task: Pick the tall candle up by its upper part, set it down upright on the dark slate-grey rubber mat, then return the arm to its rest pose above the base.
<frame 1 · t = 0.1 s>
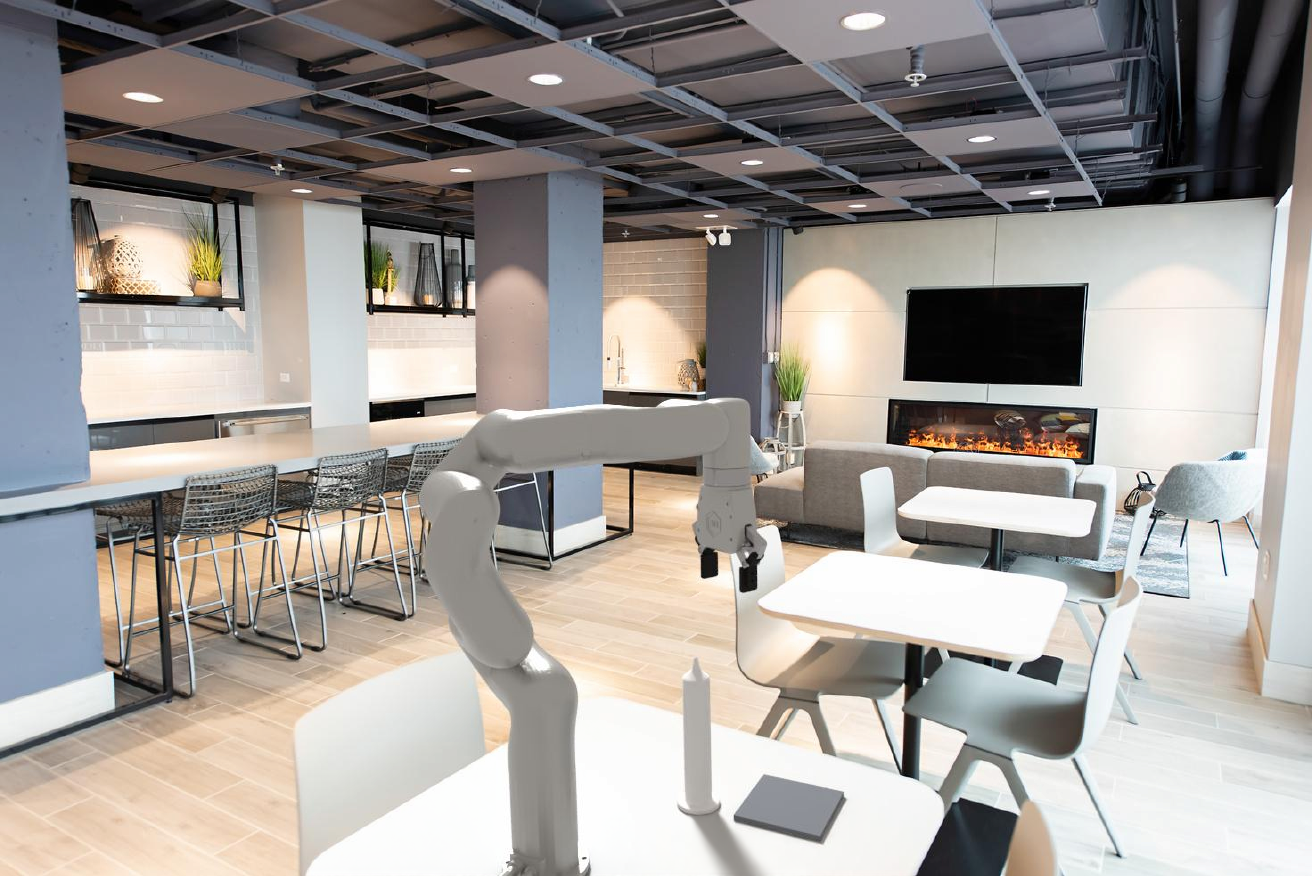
hand: (728, 583, 135), 37 cm above the table, tool pointing down, fingers open, 9 cm apart
mat: (790, 807, 139), on the table
candle: (698, 804, 140), on the table
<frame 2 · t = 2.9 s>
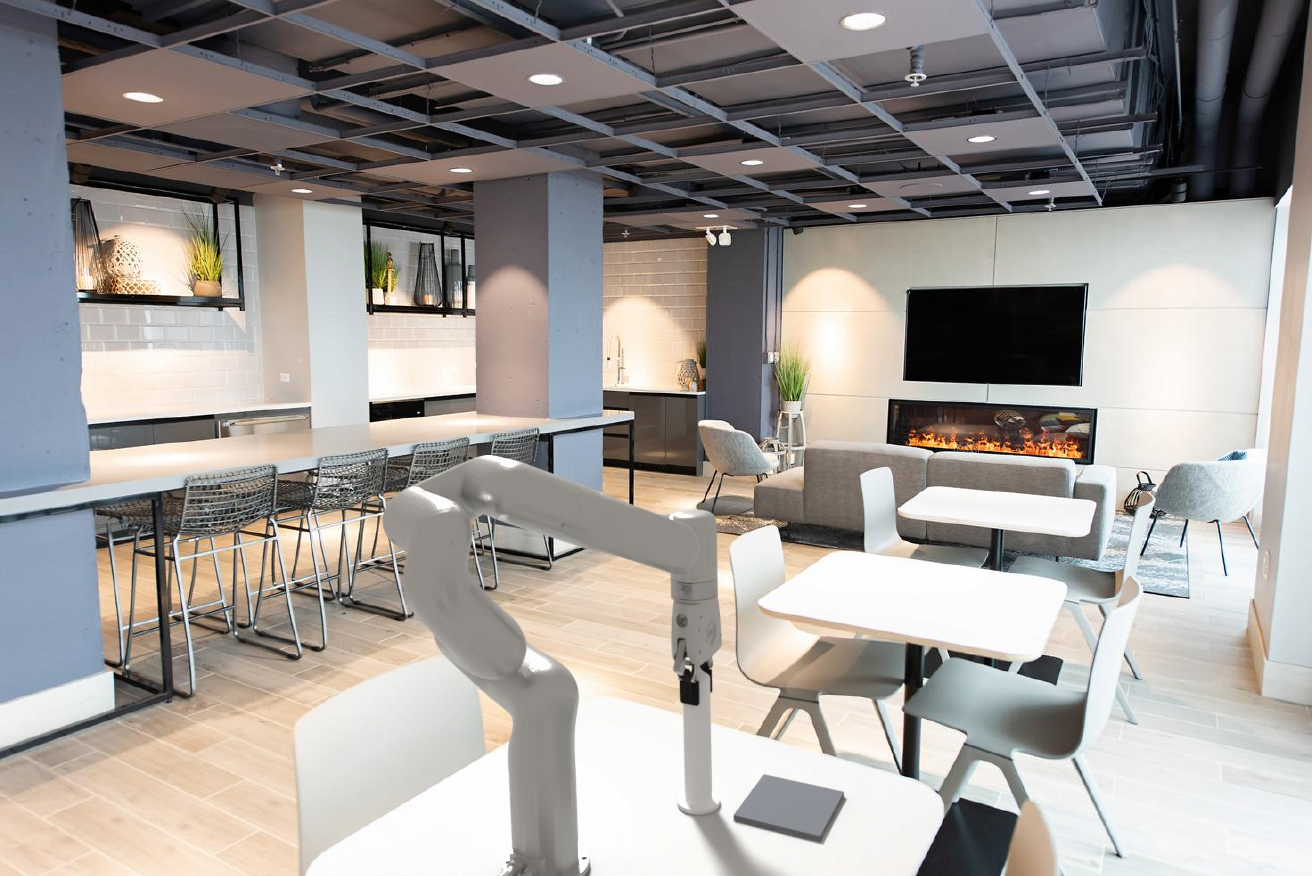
hand: (696, 696, 138), 18 cm above the table, tool pointing down, fingers closed on candle, 4 cm apart
candle: (698, 804, 140), on the table, touching gripper
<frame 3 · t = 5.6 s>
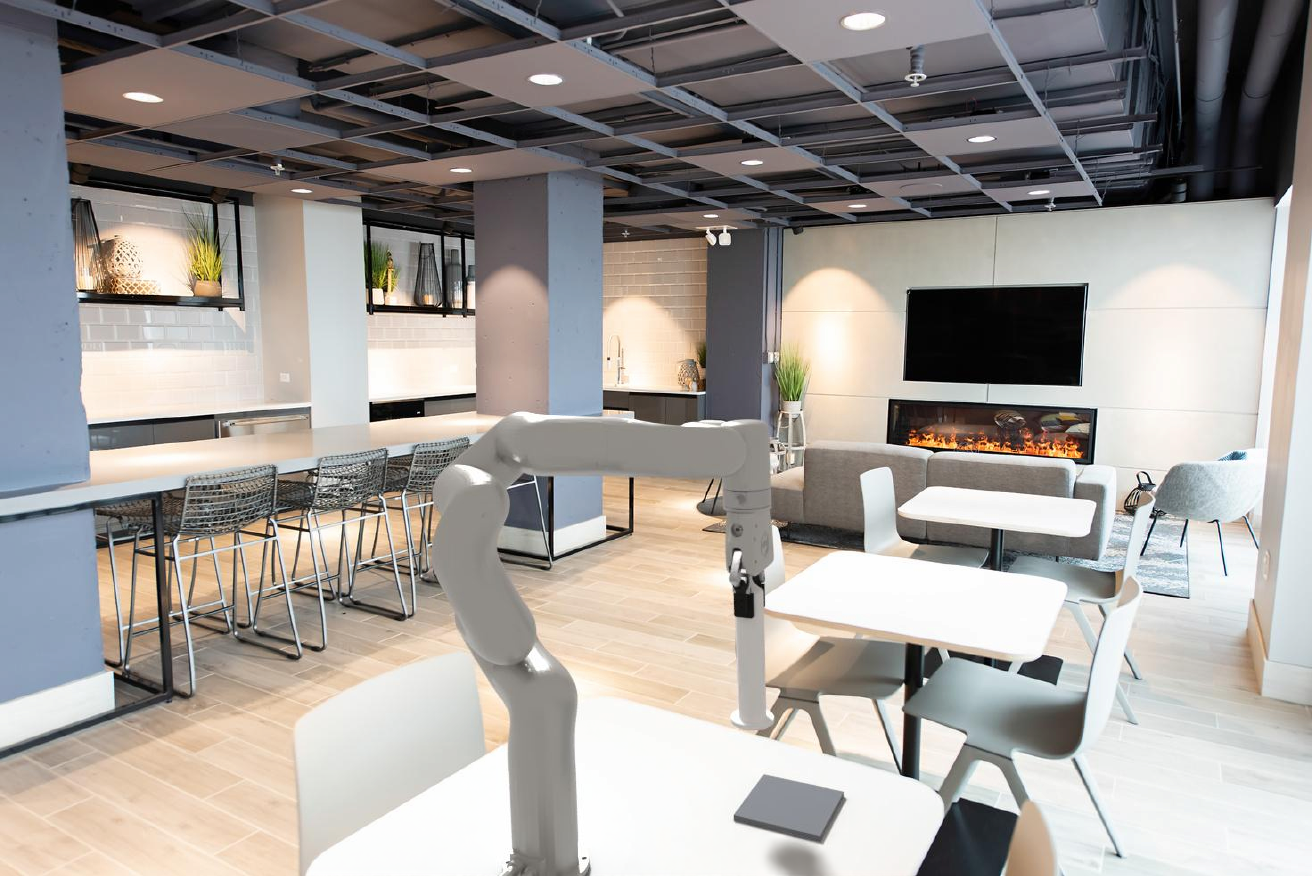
hand: (749, 610, 136), 33 cm above the table, tool pointing down, fingers closed on candle, 4 cm apart
candle: (752, 721, 138), point 14 cm above the table, touching gripper
when the fingers open (20 cm above the table, at t = 8.6 s): candle drops 1 cm, resting on mat.
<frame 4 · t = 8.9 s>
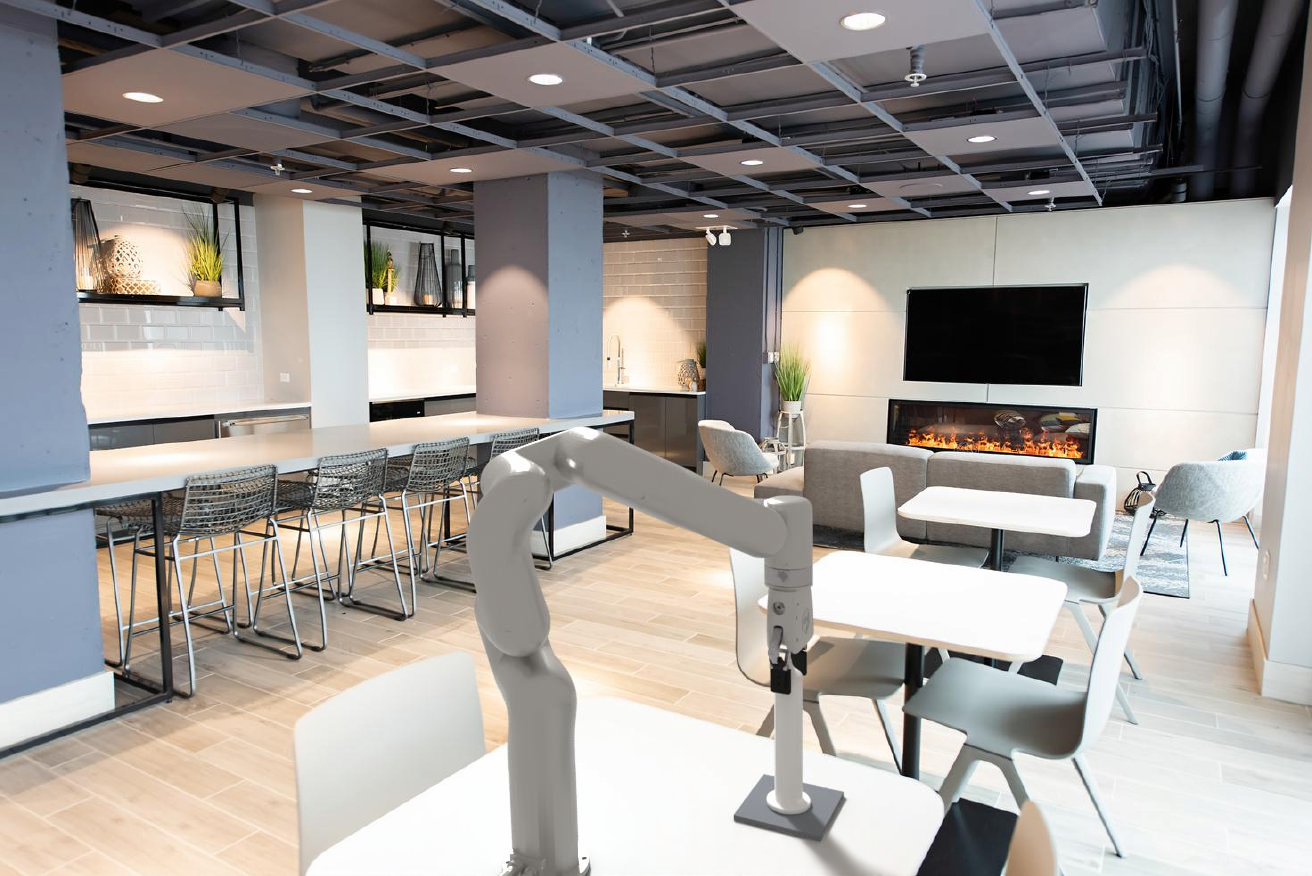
hand: (789, 682, 136), 21 cm above the table, tool pointing down, fingers open, 7 cm apart
candle: (788, 804, 138), point 1 cm above the table, touching mat
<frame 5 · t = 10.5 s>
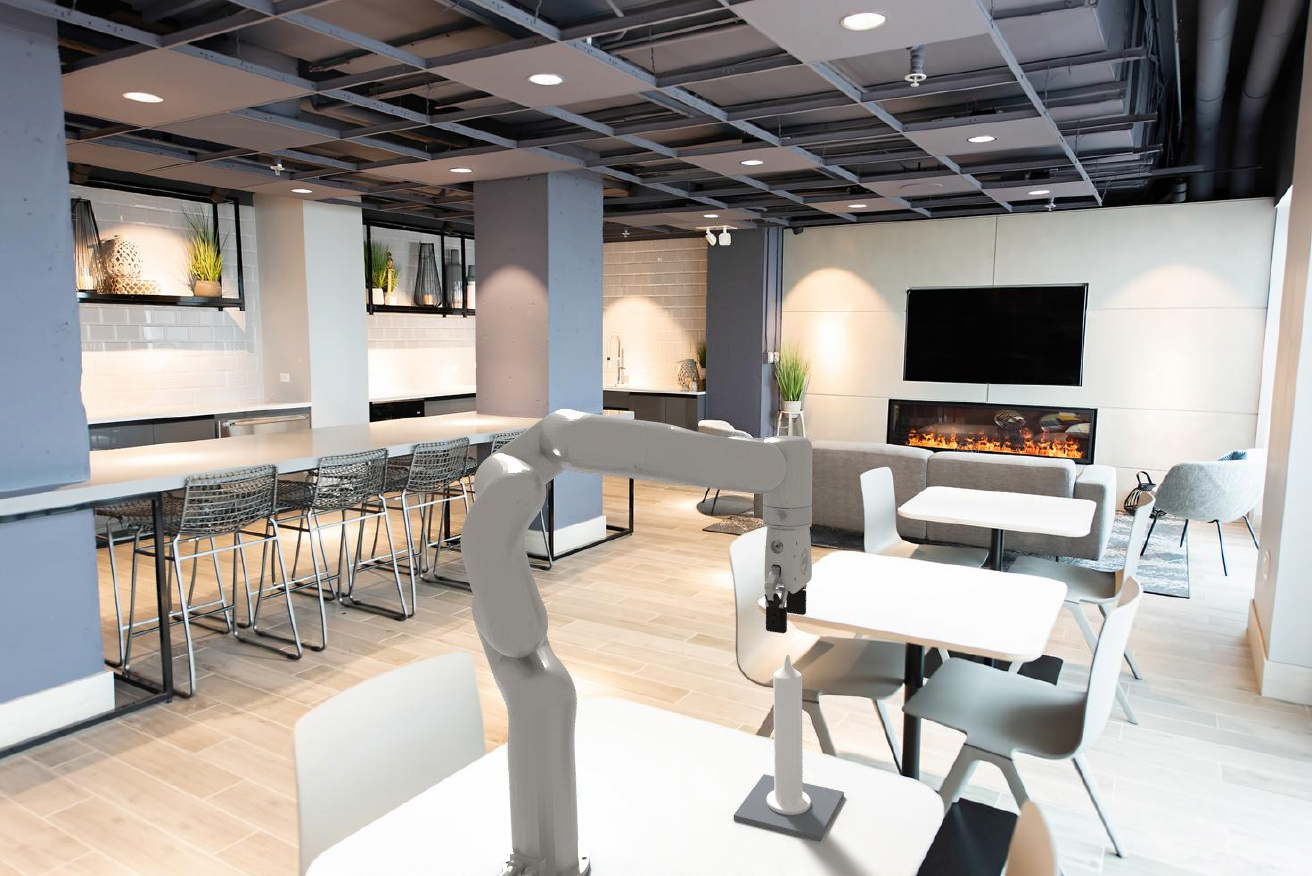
hand: (786, 622, 135), 31 cm above the table, tool pointing down, fingers open, 9 cm apart
nothing on the table moved.
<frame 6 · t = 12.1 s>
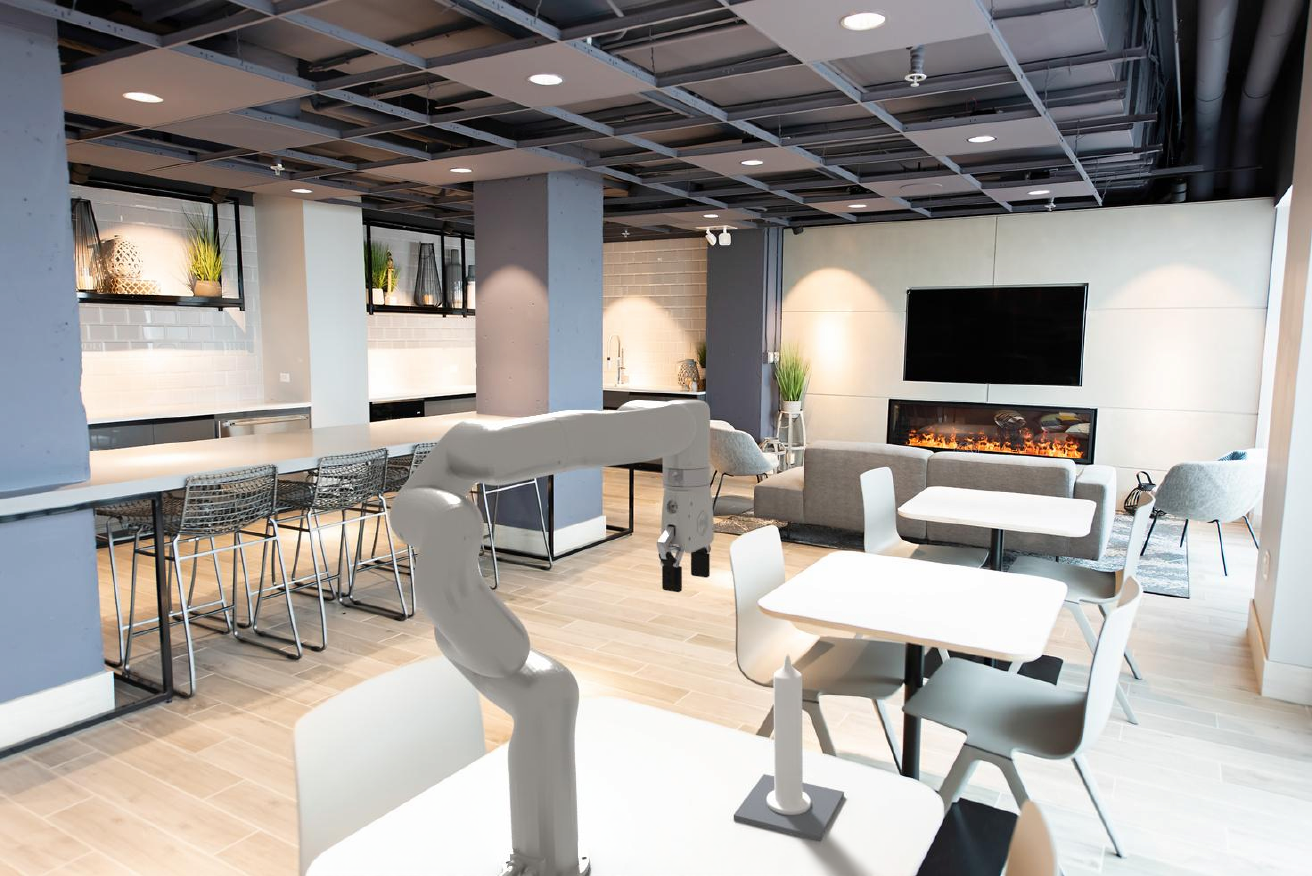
hand: (686, 583, 137), 37 cm above the table, tool pointing down, fingers open, 9 cm apart
nothing on the table moved.
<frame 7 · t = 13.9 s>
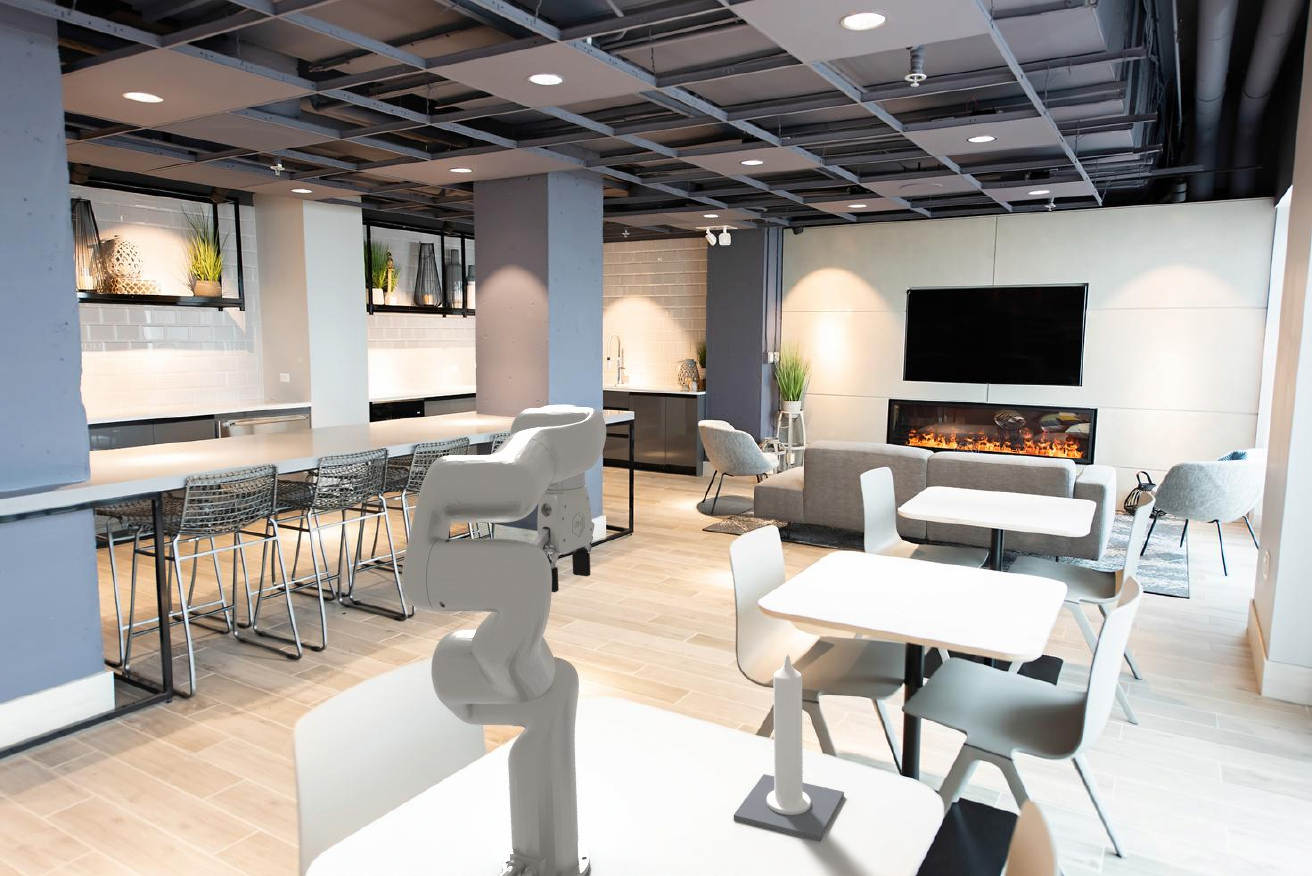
hand: (566, 582, 141), 36 cm above the table, tool pointing down, fingers open, 9 cm apart
nothing on the table moved.
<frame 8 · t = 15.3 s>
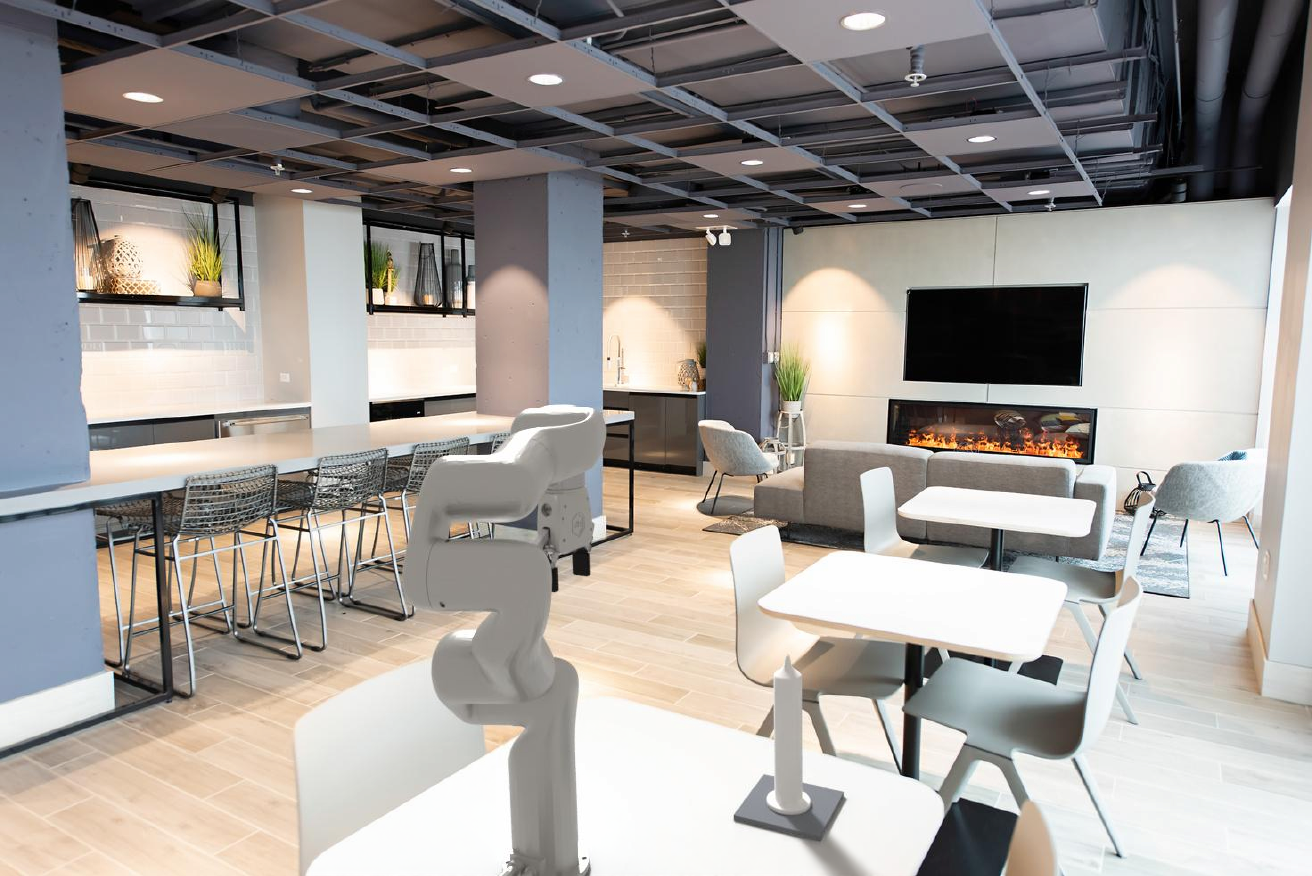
hand: (566, 582, 141), 36 cm above the table, tool pointing down, fingers open, 9 cm apart
nothing on the table moved.
at the end: candle inside the target area on the mat (0.3 cm from its centre), point 0.6 cm above the mat's base; candle tilted 0°; the gripper is holding nothing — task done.
